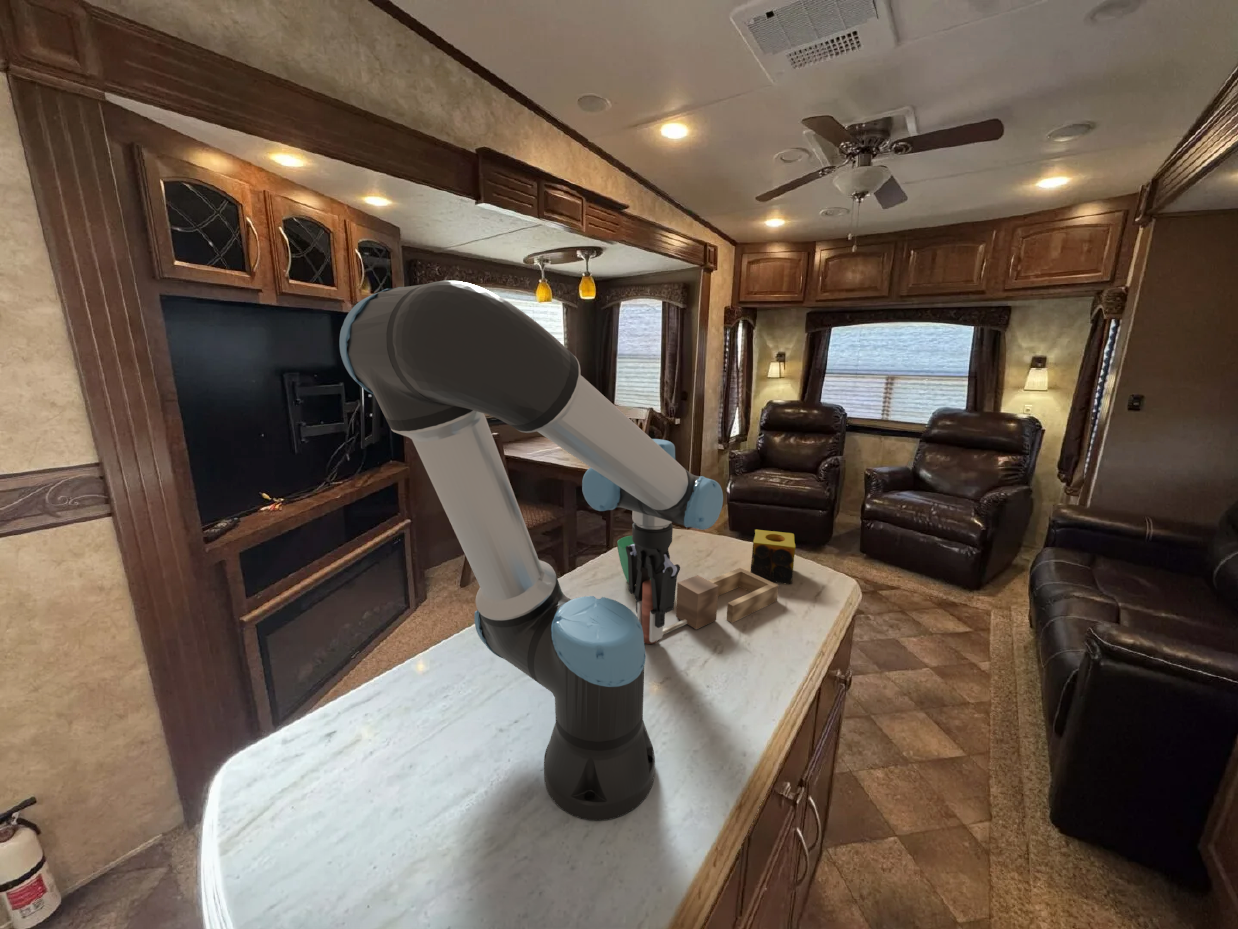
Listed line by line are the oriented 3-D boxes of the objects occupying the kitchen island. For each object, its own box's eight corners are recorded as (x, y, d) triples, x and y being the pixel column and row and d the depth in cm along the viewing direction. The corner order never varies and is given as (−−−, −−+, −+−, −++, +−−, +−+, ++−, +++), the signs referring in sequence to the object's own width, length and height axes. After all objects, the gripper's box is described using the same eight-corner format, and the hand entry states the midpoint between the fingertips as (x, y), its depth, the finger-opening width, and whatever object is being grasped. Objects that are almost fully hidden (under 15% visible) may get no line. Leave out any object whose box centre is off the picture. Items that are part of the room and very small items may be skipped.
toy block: (749, 579, 121) (752, 542, 119) (750, 563, 131) (753, 528, 128) (792, 585, 118) (796, 547, 116) (790, 568, 128) (794, 532, 125)
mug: (608, 580, 121) (608, 542, 118) (635, 568, 127) (636, 532, 125) (652, 601, 110) (653, 561, 108) (679, 587, 117) (681, 549, 115)
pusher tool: (653, 649, 92) (654, 592, 90) (633, 634, 97) (634, 580, 94) (716, 620, 103) (719, 568, 100) (695, 608, 107) (698, 558, 105)
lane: (731, 623, 102) (733, 606, 101) (694, 601, 111) (695, 585, 110) (777, 601, 111) (778, 585, 110) (739, 582, 120) (740, 567, 119)
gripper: (698, 531, 86) (692, 648, 91) (640, 507, 98) (638, 611, 104) (666, 540, 81) (662, 663, 87) (610, 514, 94) (610, 622, 100)
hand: (649, 634), depth 95 cm, fingers closed on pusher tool, 3 cm apart
